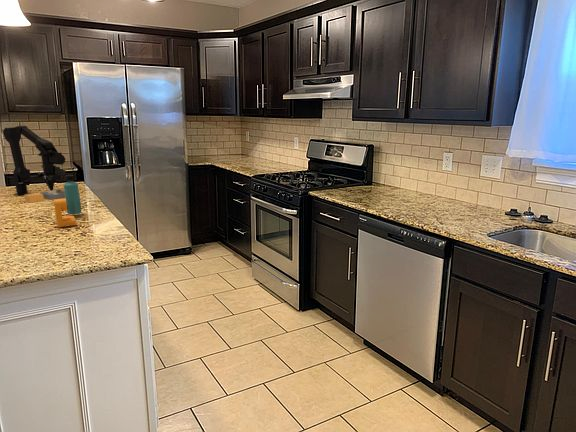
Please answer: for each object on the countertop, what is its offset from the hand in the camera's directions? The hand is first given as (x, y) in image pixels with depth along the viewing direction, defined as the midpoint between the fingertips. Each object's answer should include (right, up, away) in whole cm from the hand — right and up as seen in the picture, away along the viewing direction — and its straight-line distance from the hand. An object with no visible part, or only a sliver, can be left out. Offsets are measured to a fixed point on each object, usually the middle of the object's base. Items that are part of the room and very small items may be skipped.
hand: (51, 190), depth 247 cm
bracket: (+38, -19, -57) cm, 71 cm away
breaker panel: (+1, -3, +3) cm, 4 cm away
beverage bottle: (+34, -15, -41) cm, 56 cm away
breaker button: (0, -3, +1) cm, 4 cm away
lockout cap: (-4, -6, -9) cm, 12 cm away
